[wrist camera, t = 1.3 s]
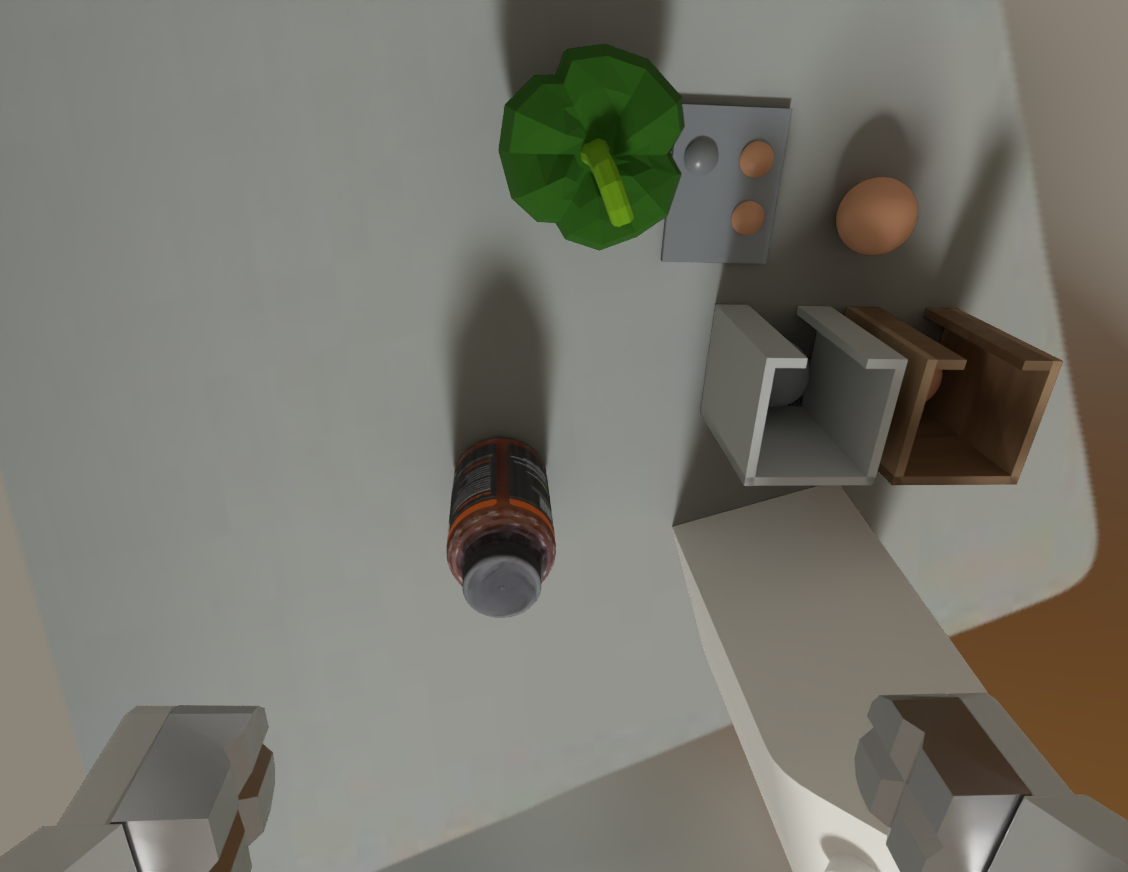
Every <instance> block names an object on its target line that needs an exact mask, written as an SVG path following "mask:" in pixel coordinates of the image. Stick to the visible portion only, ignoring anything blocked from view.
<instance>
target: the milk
mask: <svg viewBox="0 0 1128 872" xmlns="http://www.w3.org/2000/svg"><path fill="white" fill-rule="evenodd" d="M672 529H673V533H674V537H675V541H676V544H677V548H678V552H679V556H680V560H681V564H682V568H683V572H684V576H685V580H686V583H687V587H688V591H689V595H690V599H691V603H692V607H693V611H694V615H695V619H696V622H697V626H698V630H699V634H700V638H701V642H702V646H703V650H704V653H705V655H706V658H707V660H708V663H709V665H710V668H711V670H712V673H713V675H714V678H715V680H716V683H717V685H718V688H719V690H720V693H721V695H722V698H723V700H724V703H725V705H726V707H727V710H728V712H729V715H730V717H731V720H732V722H733V725H734V727H735V730H736V732H737V735H738V737H739V739H740V742H741V745H742V747H743V750H744V752H745V755H746V757H747V760H748V762H749V764H750V767H751V769H752V772H753V774H754V777H755V779H756V782H757V784H758V787H759V789H760V792H761V794H762V797H763V799H764V802H765V804H766V806H767V809H768V812H769V814H770V816H771V819H772V821H773V824H774V826H775V829H776V831H777V834H778V836H779V839H780V841H781V844H782V846H783V849H784V851H785V854H786V856H787V858H788V861H789V864H790V866H791V869H792V871H793V872H900V871H899V869H898V867H897V865H896V863H895V861H894V859H893V857H892V855H891V853H890V851H889V849H888V847H887V845H886V840H887V834H888V829H889V828H888V827H887V826H886V825H885V824H883V823H882V822H881V821H880V820H878V819H877V818H876V817H875V816H873V815H872V814H871V813H870V812H869V810H868V808H867V806H866V804H865V802H864V800H863V798H862V796H861V793H860V790H859V787H858V783H857V780H856V773H855V759H854V757H855V754H856V750H857V746H858V742H859V739H860V738H862V737H863V736H864V735H865V734H866V733H868V732H869V731H870V730H871V729H872V728H874V727H873V725H872V724H871V722H870V720H869V718H868V717H867V714H868V712H869V709H870V706H871V703H872V701H874V700H875V699H876V698H877V697H878V696H879V695H907V694H950V693H987V691H986V690H985V688H984V687H983V685H982V684H981V683H980V681H979V680H978V678H977V677H976V675H975V674H974V673H973V672H972V670H971V668H970V667H969V666H968V664H967V663H966V661H965V660H964V659H963V657H962V656H961V654H960V653H959V652H958V650H957V649H956V647H955V646H954V645H953V643H952V642H951V640H950V639H949V637H948V636H947V635H946V633H945V632H944V630H943V629H942V628H941V626H940V625H939V623H938V622H937V621H936V619H935V618H934V616H933V615H932V614H931V612H930V611H929V609H928V608H927V607H926V605H925V604H924V602H923V601H922V599H921V598H920V597H919V595H918V594H917V592H916V591H915V590H914V588H913V587H912V585H911V584H910V583H909V581H908V580H907V578H906V577H905V576H904V574H903V573H902V571H901V570H900V569H899V567H898V566H897V564H896V563H895V561H894V560H893V559H892V557H891V556H890V554H889V553H888V552H887V550H886V549H885V547H884V546H883V545H882V543H881V542H880V540H879V539H878V538H877V536H876V535H875V533H874V532H873V531H872V529H871V528H870V526H869V525H868V523H867V522H866V521H865V519H864V518H863V516H862V515H861V514H860V512H859V511H858V509H857V508H856V507H855V505H854V504H853V502H852V501H851V500H850V498H849V497H848V495H847V494H846V493H845V491H844V490H843V488H842V487H841V485H819V486H816V487H812V488H809V489H805V490H802V491H798V492H794V493H791V494H787V495H784V496H780V497H777V498H773V499H769V500H766V501H762V502H759V503H755V504H752V505H748V506H745V507H741V508H737V509H734V510H730V511H727V512H723V513H720V514H716V515H712V516H709V517H705V518H702V519H698V520H695V521H691V522H687V523H684V524H680V525H677V526H673V527H672ZM987 694H988V693H987Z"/></svg>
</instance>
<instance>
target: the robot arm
mask: <svg viewBox="0 0 1128 872" xmlns="http://www.w3.org/2000/svg"><path fill="white" fill-rule="evenodd" d="M867 717H868V718H869V720H870V722H871V724H872V725H873V727H874V728H872V729H871V730H870V731H869V732H868V733H866V734H865V735H864V736H863V737H862V738H860V739H859V742H858V746H857V750H856V754H855V757H854V759H855V773H856V780H857V783H858V787H859V790H860V793H861V796H862V798H863V800H864V802H865V804H866V806H867V808H868V810H869V812H870V813H871V814H872V815H873V816H875V817H876V818H877V819H878V820H880V821H881V822H882V823H883V824H885V825H886V826H887V827H888V828H889V829H888V834H887V840H886V845H887V847H888V849H889V851H890V853H891V855H892V857H893V859H894V861H895V863H896V865H897V867H898V869H899V871H900V872H1128V821H1127V820H1126V819H1124V818H1122V817H1121V816H1119V815H1118V814H1116V813H1114V812H1113V811H1111V810H1110V809H1108V808H1106V807H1105V806H1103V805H1102V804H1100V803H1098V802H1097V801H1095V800H1094V799H1092V798H1090V797H1089V796H1087V795H1074V793H1073V792H1072V791H1071V790H1070V789H1069V787H1068V786H1067V785H1066V784H1065V783H1064V781H1063V780H1062V779H1061V778H1060V776H1059V775H1058V774H1057V773H1056V772H1055V770H1054V769H1053V768H1052V767H1051V766H1050V764H1049V763H1048V762H1047V761H1046V759H1045V758H1044V757H1043V756H1042V755H1041V753H1040V752H1039V751H1038V750H1037V749H1036V747H1035V746H1034V745H1033V744H1032V742H1031V741H1030V740H1029V739H1028V738H1027V737H1026V735H1025V734H1024V733H1023V732H1022V730H1021V729H1020V728H1019V727H1018V725H1017V724H1016V723H1015V722H1014V721H1013V719H1012V718H1011V717H1010V716H1009V715H1008V713H1007V712H1006V711H1005V710H1004V709H1003V707H1002V706H1001V705H1000V704H999V702H998V701H997V700H995V699H994V698H993V697H991V696H990V695H988V694H987V693H950V694H907V695H879V696H878V697H877V698H876V699H875V700H874V701H872V703H871V706H870V709H869V712H868V714H867ZM267 730H268V722H267V718H266V713H265V708H263V707H260V706H196V705H179V706H136V707H135V708H133V709H132V710H131V711H130V712H129V713H127V714H126V715H125V716H124V717H123V719H122V721H121V722H120V724H119V725H118V727H117V729H116V730H115V732H114V734H113V735H112V737H111V738H110V740H109V742H108V743H107V745H106V746H105V748H104V750H103V751H102V753H101V754H100V756H99V758H98V759H97V761H96V762H95V764H94V766H93V767H92V769H91V771H90V772H89V774H88V775H87V777H86V779H85V780H84V782H83V783H82V785H81V787H80V788H79V790H78V791H77V793H76V795H75V796H74V798H73V800H72V801H71V803H70V804H69V806H68V807H67V809H66V811H65V813H64V814H63V816H62V817H61V819H60V820H59V822H58V824H57V825H56V826H42V827H41V828H39V829H38V830H37V831H35V832H34V833H33V834H31V835H30V836H28V837H27V838H26V839H24V840H23V841H21V842H20V843H19V844H18V845H16V846H15V847H13V848H12V849H10V850H9V851H8V852H6V853H5V854H4V855H2V856H1V857H0V872H251V869H252V864H251V859H250V853H249V848H248V846H249V845H250V844H251V843H252V842H253V841H254V840H256V839H257V838H258V837H259V836H260V835H261V834H262V833H263V832H264V829H265V826H266V823H267V820H268V816H269V813H270V810H271V804H272V798H273V792H274V786H275V764H274V757H273V752H272V751H271V750H269V749H268V748H267V747H266V746H265V745H264V744H263V741H264V738H265V735H266V733H267Z"/></svg>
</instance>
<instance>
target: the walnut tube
mask: <svg viewBox="0 0 1128 872" xmlns="http://www.w3.org/2000/svg"><path fill="white" fill-rule="evenodd" d="M924 316H925V317H927V318H928V319H930V320H932V321H934V322H936V323H937V324H939V325H941V326H943V327H944V330H943V334H942V337H941V341H940V344H939V343H938V342H936V341H934V340H933V339H931V338H929V337H928V336H926V335H924V334H923V333H921V332H919V331H918V330H916V329H914V328H913V327H911V326H909V325H908V324H906V323H904V322H903V321H901V320H899V319H897V318H896V317H894V316H892V315H891V314H889V313H887V312H886V311H884V310H882V309H881V308H879V307H846V311H845V317H847V318H848V319H850V320H851V321H853V322H854V323H855V324H857V325H858V326H860V327H861V328H863V329H864V330H866V331H867V332H869V333H870V334H872V335H873V336H875V337H876V338H877V339H879V340H880V341H882V342H883V343H885V344H886V345H888V346H889V347H891V348H892V349H894V350H895V351H896V352H898V353H899V354H901V355H902V356H904V357H905V358H907V359H908V362H907V365H906V369H905V373H904V376H903V380H902V384H901V387H900V391H899V395H898V398H897V402H896V406H895V409H894V413H893V417H892V420H891V424H890V428H889V431H888V435H887V439H886V442H885V446H884V449H883V453H882V457H881V460H880V464H879V468H878V471H879V472H880V473H881V474H882V475H883V476H884V477H885V478H886V479H887V480H888V482H889V483H890V484H891V485H992V484H1017V482H1018V480H1019V477H1020V475H1021V472H1022V469H1023V467H1024V464H1025V461H1026V459H1027V456H1028V453H1029V451H1030V448H1031V445H1032V443H1033V440H1034V437H1035V435H1036V432H1037V430H1038V427H1039V424H1040V422H1041V419H1042V416H1043V414H1044V411H1045V408H1046V406H1047V403H1048V400H1049V398H1050V395H1051V393H1052V390H1053V387H1054V385H1055V382H1056V379H1057V377H1058V374H1059V371H1060V369H1061V366H1062V363H1063V361H1062V360H1060V359H1058V358H1056V357H1054V356H1052V355H1050V354H1048V353H1046V352H1044V351H1042V350H1040V349H1038V348H1036V347H1034V346H1032V345H1030V344H1028V343H1026V342H1024V341H1022V340H1020V339H1018V338H1016V337H1014V336H1012V335H1010V334H1008V333H1006V332H1004V331H1002V330H1000V329H998V328H996V327H994V326H992V325H990V324H988V323H986V322H984V321H982V320H980V319H978V318H976V317H974V316H972V315H969V314H967V313H965V312H963V311H961V310H959V309H950V308H926V311H925V314H924ZM935 370H942V380H941V384H940V386H939V388H938V390H937V391H936V393H935V394H934V395H933V396H932V397H931V398H930V399H929V400H927V401H926V398H927V395H928V391H929V388H930V384H931V381H932V378H933V374H934V371H935ZM925 401H926V402H925Z"/></svg>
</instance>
